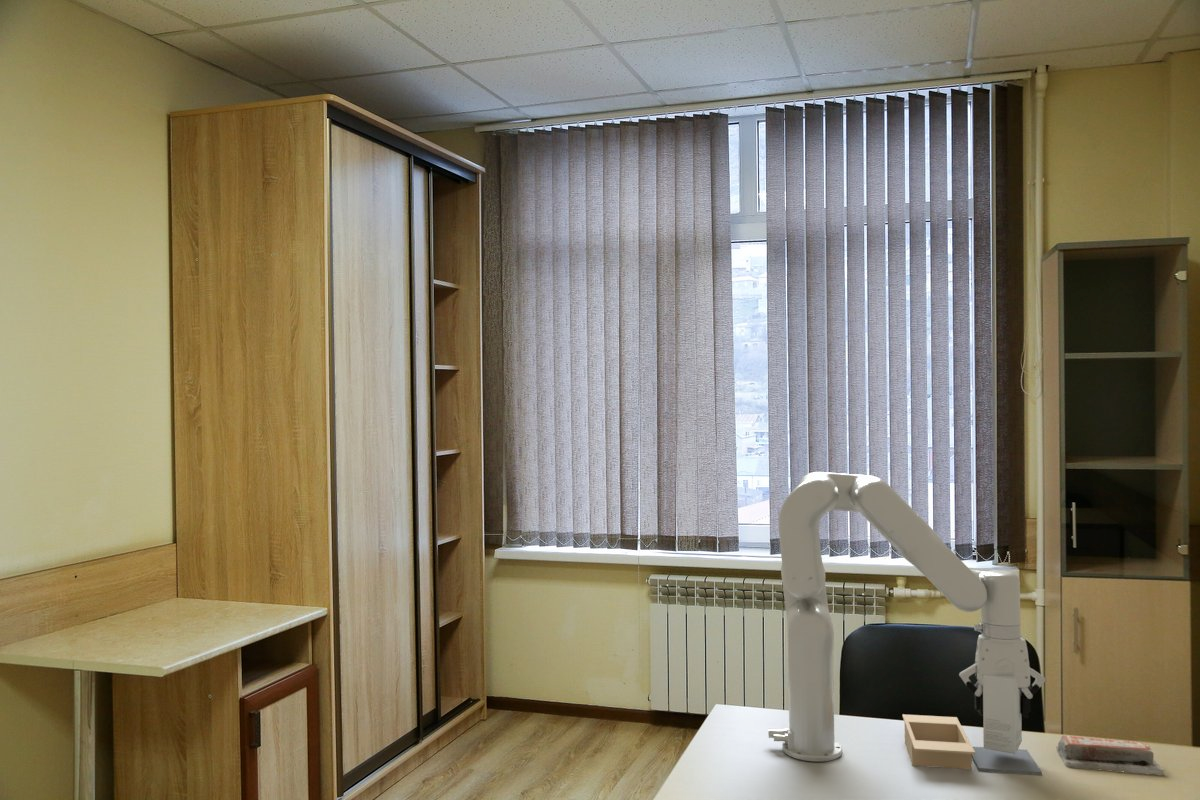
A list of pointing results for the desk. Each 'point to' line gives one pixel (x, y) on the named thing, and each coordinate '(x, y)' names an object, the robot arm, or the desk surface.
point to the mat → (1005, 761)
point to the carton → (937, 742)
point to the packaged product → (1107, 755)
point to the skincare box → (1001, 713)
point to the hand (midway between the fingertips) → (1002, 714)
